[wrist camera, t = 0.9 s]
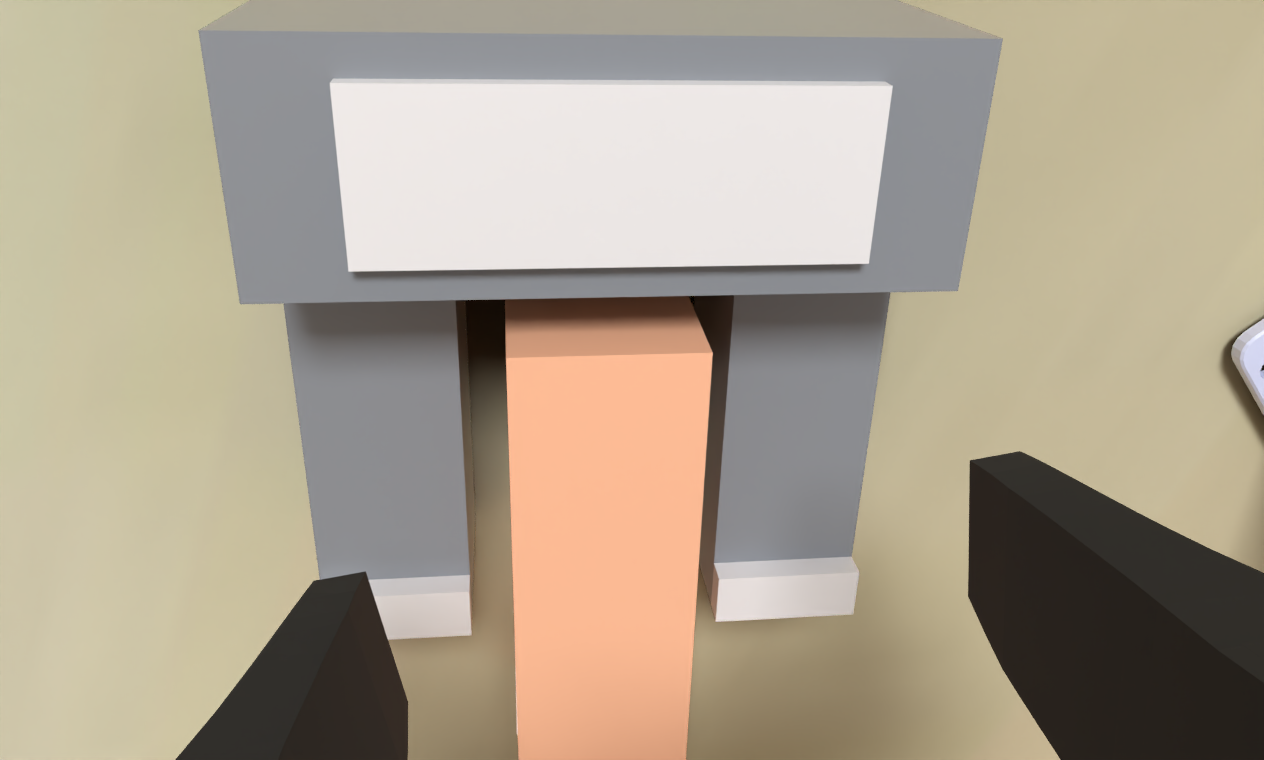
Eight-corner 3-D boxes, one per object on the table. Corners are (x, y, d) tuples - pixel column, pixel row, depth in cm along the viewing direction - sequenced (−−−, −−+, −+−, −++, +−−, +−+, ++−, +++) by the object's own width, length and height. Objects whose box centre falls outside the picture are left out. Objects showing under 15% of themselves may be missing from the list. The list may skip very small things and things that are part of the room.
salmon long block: (503, 225, 20) (504, 358, 15) (657, 223, 21) (714, 352, 15) (516, 663, 25) (521, 882, 20) (641, 656, 26) (679, 868, 20)
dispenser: (288, -22, 18) (192, 34, 12) (859, -14, 19) (1012, 41, 13) (349, 519, 23) (300, 737, 17) (800, 500, 24) (893, 699, 18)
